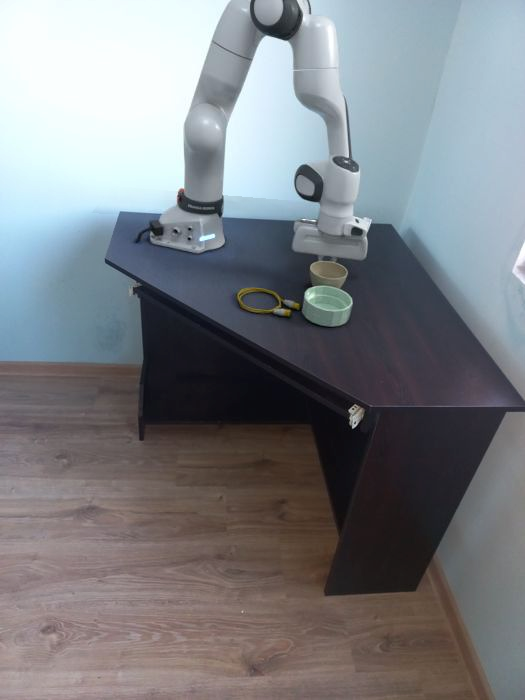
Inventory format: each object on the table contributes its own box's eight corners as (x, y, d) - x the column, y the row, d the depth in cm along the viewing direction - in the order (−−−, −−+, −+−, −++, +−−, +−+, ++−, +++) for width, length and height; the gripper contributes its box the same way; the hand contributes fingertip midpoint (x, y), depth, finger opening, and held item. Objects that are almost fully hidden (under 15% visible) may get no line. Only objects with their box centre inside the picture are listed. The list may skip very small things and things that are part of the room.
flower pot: (341, 286, 149) (346, 263, 145) (343, 304, 141) (349, 280, 137) (305, 281, 149) (309, 258, 145) (306, 300, 141) (310, 276, 137)
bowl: (301, 324, 131) (304, 307, 128) (301, 299, 141) (304, 283, 138) (349, 330, 131) (354, 313, 128) (346, 305, 141) (350, 288, 138)
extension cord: (268, 327, 129) (269, 320, 128) (227, 298, 138) (228, 291, 136) (303, 312, 136) (304, 305, 135) (262, 285, 145) (263, 279, 144)
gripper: (294, 221, 138) (287, 269, 146) (373, 232, 138) (361, 279, 146) (295, 212, 143) (288, 259, 151) (371, 222, 143) (359, 268, 151)
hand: (324, 269), depth 149 cm, fingers closed
